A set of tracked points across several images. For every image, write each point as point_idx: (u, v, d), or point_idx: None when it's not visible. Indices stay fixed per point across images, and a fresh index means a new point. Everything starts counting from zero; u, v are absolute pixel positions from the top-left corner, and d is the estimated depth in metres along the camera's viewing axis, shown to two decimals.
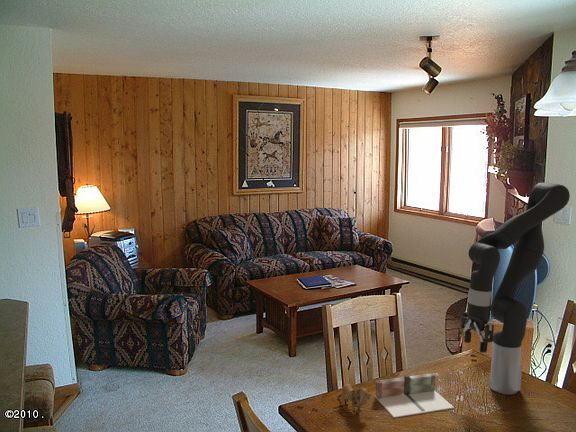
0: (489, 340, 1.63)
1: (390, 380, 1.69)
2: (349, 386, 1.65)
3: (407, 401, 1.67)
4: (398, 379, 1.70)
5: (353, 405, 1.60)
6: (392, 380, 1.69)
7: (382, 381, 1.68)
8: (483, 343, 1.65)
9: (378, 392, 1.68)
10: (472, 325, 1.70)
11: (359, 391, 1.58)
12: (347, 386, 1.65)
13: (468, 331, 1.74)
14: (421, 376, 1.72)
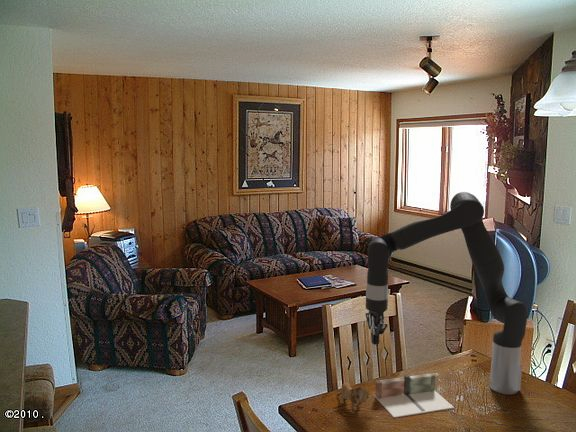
0: (379, 332, 1.70)
1: (390, 380, 1.69)
2: (348, 385, 1.65)
3: (407, 401, 1.67)
4: (398, 379, 1.70)
5: (352, 404, 1.60)
6: (392, 380, 1.69)
7: (382, 381, 1.68)
8: (375, 335, 1.72)
9: (378, 392, 1.68)
10: None
11: (358, 390, 1.59)
12: (346, 385, 1.65)
13: None
14: (421, 376, 1.72)
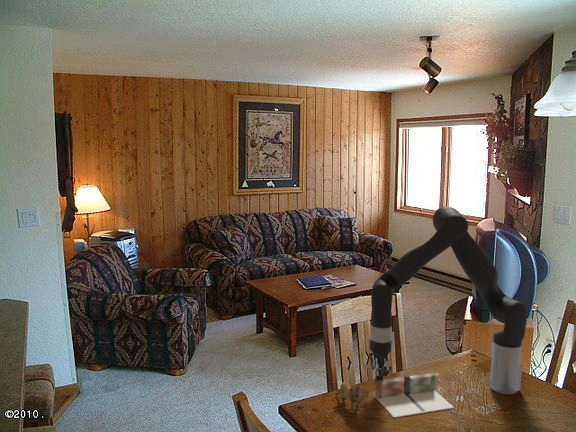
0: (383, 374, 1.68)
1: (390, 380, 1.69)
2: (347, 384, 1.66)
3: (407, 401, 1.67)
4: (398, 379, 1.70)
5: (351, 403, 1.61)
6: (392, 380, 1.69)
7: (382, 381, 1.68)
8: (378, 377, 1.70)
9: (378, 392, 1.68)
10: None
11: (357, 389, 1.59)
12: (345, 384, 1.66)
13: None
14: (421, 376, 1.72)
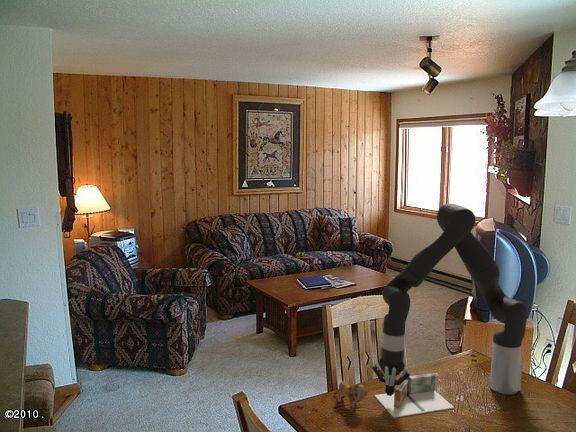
0: None
1: (402, 385, 1.66)
2: (346, 383, 1.67)
3: (407, 401, 1.67)
4: (404, 382, 1.68)
5: (350, 402, 1.62)
6: (403, 385, 1.66)
7: (399, 390, 1.63)
8: (393, 386, 1.63)
9: (399, 402, 1.62)
10: (390, 370, 1.63)
11: (356, 388, 1.60)
12: (344, 383, 1.66)
13: None
14: (421, 376, 1.72)
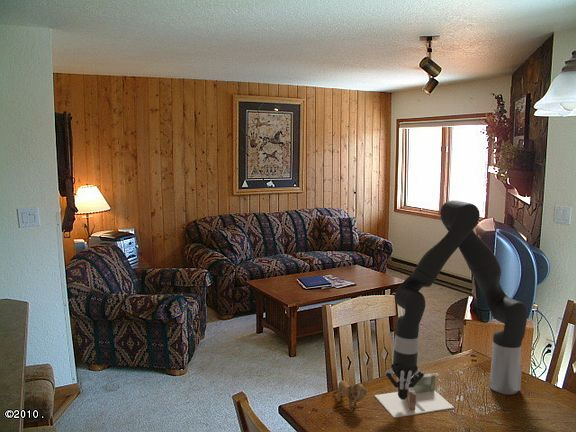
0: None
1: (410, 387, 1.65)
2: (345, 383, 1.67)
3: (407, 401, 1.67)
4: None
5: (350, 401, 1.62)
6: None
7: (413, 391, 1.62)
8: (406, 389, 1.61)
9: None
10: (405, 373, 1.60)
11: (356, 387, 1.60)
12: (343, 383, 1.67)
13: None
14: None
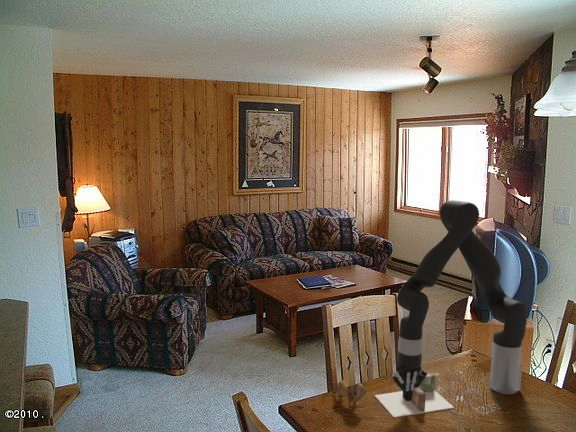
0: None
1: None
2: (344, 382, 1.67)
3: (407, 401, 1.67)
4: None
5: (349, 401, 1.62)
6: None
7: (421, 391, 1.62)
8: (411, 390, 1.61)
9: None
10: (410, 374, 1.59)
11: (355, 387, 1.61)
12: (342, 382, 1.67)
13: None
14: None
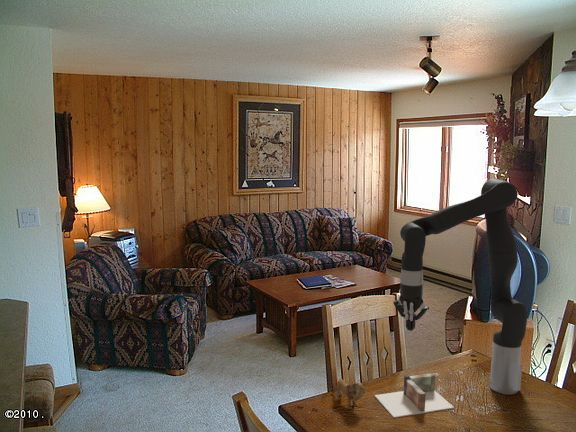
0: None
1: (416, 386, 1.65)
2: (343, 381, 1.68)
3: (407, 401, 1.67)
4: (412, 382, 1.68)
5: (349, 400, 1.63)
6: (415, 385, 1.66)
7: (421, 391, 1.62)
8: (412, 321, 1.70)
9: None
10: (409, 305, 1.70)
11: (355, 386, 1.61)
12: (341, 382, 1.68)
13: None
14: (421, 376, 1.72)
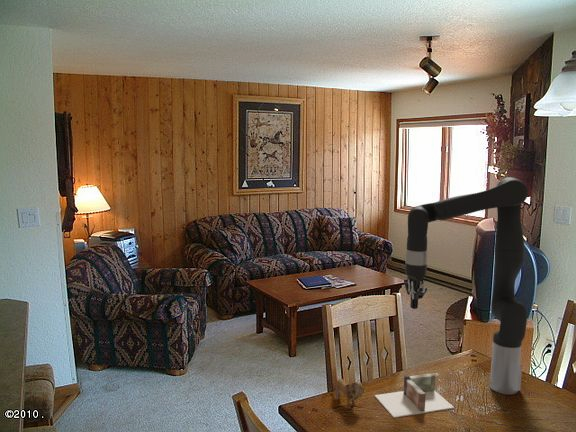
0: (418, 297, 1.77)
1: (416, 386, 1.65)
2: (342, 381, 1.68)
3: (407, 401, 1.67)
4: (412, 382, 1.68)
5: (348, 399, 1.63)
6: (415, 385, 1.66)
7: (421, 391, 1.62)
8: (414, 300, 1.79)
9: None
10: None
11: (354, 385, 1.62)
12: (341, 381, 1.68)
13: None
14: (421, 376, 1.72)
